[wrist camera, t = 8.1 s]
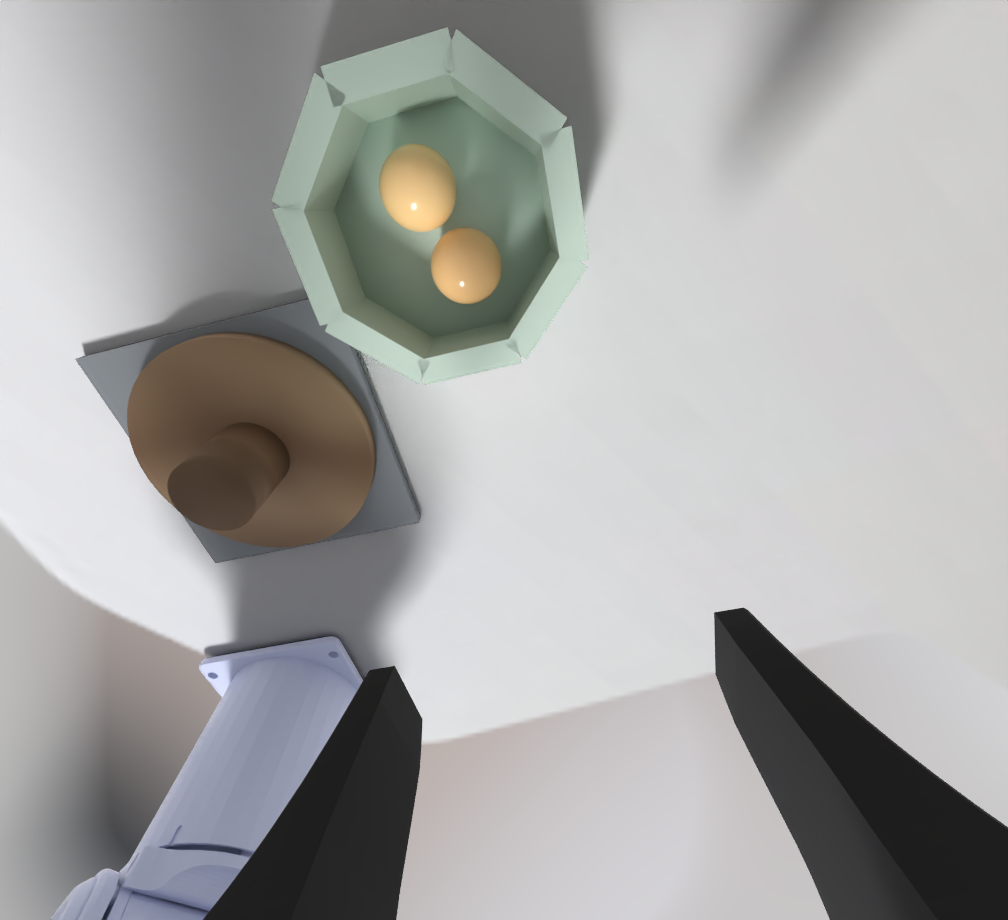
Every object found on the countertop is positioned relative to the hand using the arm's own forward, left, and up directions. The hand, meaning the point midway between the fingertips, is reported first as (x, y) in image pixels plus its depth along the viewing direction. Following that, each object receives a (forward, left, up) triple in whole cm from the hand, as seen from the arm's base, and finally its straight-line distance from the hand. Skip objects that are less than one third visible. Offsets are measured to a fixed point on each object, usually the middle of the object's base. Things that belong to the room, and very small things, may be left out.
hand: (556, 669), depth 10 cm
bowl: (+9, +1, -10) cm, 14 cm away
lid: (+3, +11, -10) cm, 15 cm away
